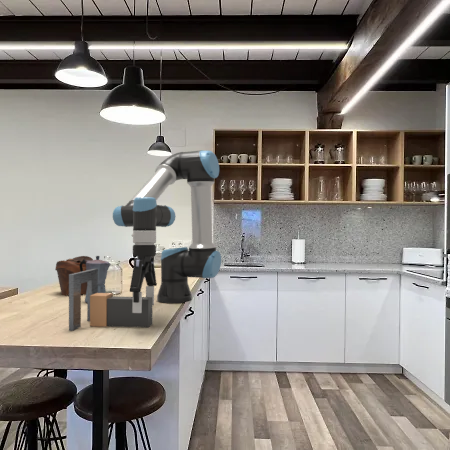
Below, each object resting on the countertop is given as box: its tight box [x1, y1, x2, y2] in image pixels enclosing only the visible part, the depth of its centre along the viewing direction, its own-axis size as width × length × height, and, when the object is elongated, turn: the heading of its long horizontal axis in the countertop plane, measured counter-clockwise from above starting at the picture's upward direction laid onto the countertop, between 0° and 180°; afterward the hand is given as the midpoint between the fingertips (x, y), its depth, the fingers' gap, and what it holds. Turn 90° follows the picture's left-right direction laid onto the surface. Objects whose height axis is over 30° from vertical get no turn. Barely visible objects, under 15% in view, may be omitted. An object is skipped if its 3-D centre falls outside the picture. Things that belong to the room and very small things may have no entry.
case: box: [55, 255, 94, 296], centre depth 201 cm, size 18×20×18 cm
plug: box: [89, 292, 153, 328], centre depth 137 cm, size 20×6×10 cm, turn 83°
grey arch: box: [68, 269, 98, 332], centre depth 138 cm, size 2×18×18 cm, turn 173°
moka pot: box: [79, 255, 112, 303], centre depth 178 cm, size 10×15×20 cm, turn 78°
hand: (143, 308), depth 135 cm, fingers open, 13 cm apart
